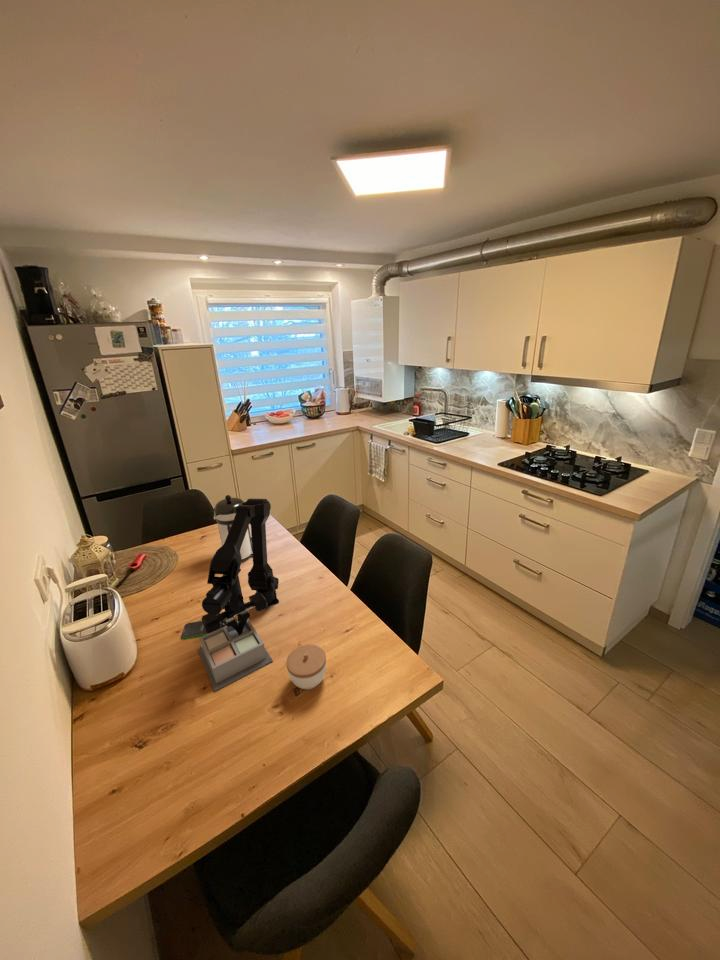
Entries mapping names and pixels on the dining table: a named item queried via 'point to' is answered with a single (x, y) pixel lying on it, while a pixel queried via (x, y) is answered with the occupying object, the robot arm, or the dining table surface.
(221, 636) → the key cream
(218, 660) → the key terracotta
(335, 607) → the dining table surface
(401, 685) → the dining table surface
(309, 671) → the lidded jar
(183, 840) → the dining table surface
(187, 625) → the smartphone
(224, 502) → the coffee press
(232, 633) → the key slate
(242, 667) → the keypad base
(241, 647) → the key sage
